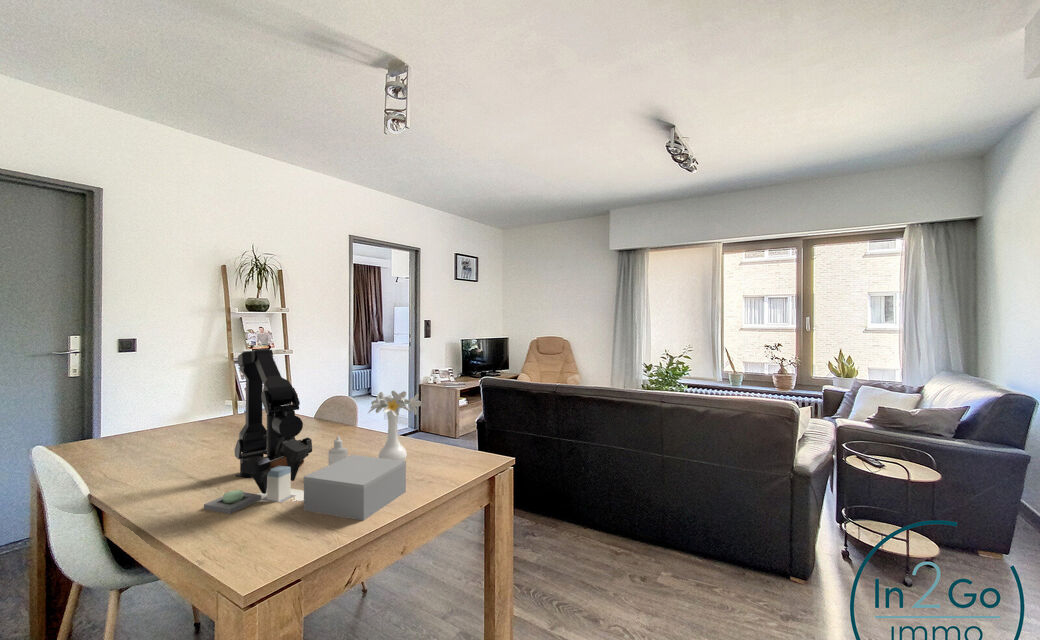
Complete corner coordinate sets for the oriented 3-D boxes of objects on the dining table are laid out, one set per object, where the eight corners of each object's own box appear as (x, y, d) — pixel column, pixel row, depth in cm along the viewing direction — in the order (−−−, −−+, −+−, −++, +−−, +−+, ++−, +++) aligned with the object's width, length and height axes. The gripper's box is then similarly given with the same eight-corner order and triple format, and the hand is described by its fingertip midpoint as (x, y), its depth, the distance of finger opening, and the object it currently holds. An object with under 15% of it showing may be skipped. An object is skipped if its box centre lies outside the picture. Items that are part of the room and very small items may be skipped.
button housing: (203, 510, 110) (203, 504, 110) (236, 496, 119) (236, 490, 119) (229, 515, 108) (229, 509, 108) (261, 500, 116) (261, 495, 116)
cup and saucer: (311, 462, 145) (310, 444, 145) (292, 477, 133) (291, 457, 133) (275, 463, 145) (275, 445, 145) (253, 477, 133) (253, 458, 133)
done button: (219, 501, 112) (219, 495, 112) (234, 495, 116) (234, 489, 116) (231, 504, 110) (231, 497, 110) (247, 497, 115) (246, 491, 115)
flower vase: (426, 460, 150) (426, 389, 150) (384, 476, 134) (384, 397, 134) (401, 453, 157) (401, 385, 157) (358, 468, 141) (358, 393, 141)
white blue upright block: (267, 499, 116) (267, 470, 116) (279, 493, 120) (279, 465, 120) (278, 501, 115) (278, 471, 115) (290, 495, 119) (290, 466, 119)
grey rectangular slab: (303, 511, 110) (303, 476, 109) (352, 485, 127) (352, 454, 127) (363, 522, 104) (363, 485, 104) (405, 492, 121) (405, 461, 121)
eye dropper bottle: (338, 477, 133) (338, 439, 133) (326, 474, 136) (326, 436, 136) (349, 472, 137) (349, 435, 137) (338, 469, 140) (338, 433, 140)
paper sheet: (236, 503, 114) (236, 502, 114) (274, 487, 126) (274, 485, 126) (283, 512, 109) (283, 510, 109) (318, 493, 121) (318, 492, 121)
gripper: (272, 442, 106) (272, 505, 106) (327, 424, 124) (327, 478, 124) (238, 438, 109) (238, 499, 109) (297, 421, 127) (297, 473, 127)
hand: (278, 486), depth 117 cm, fingers open, 9 cm apart
